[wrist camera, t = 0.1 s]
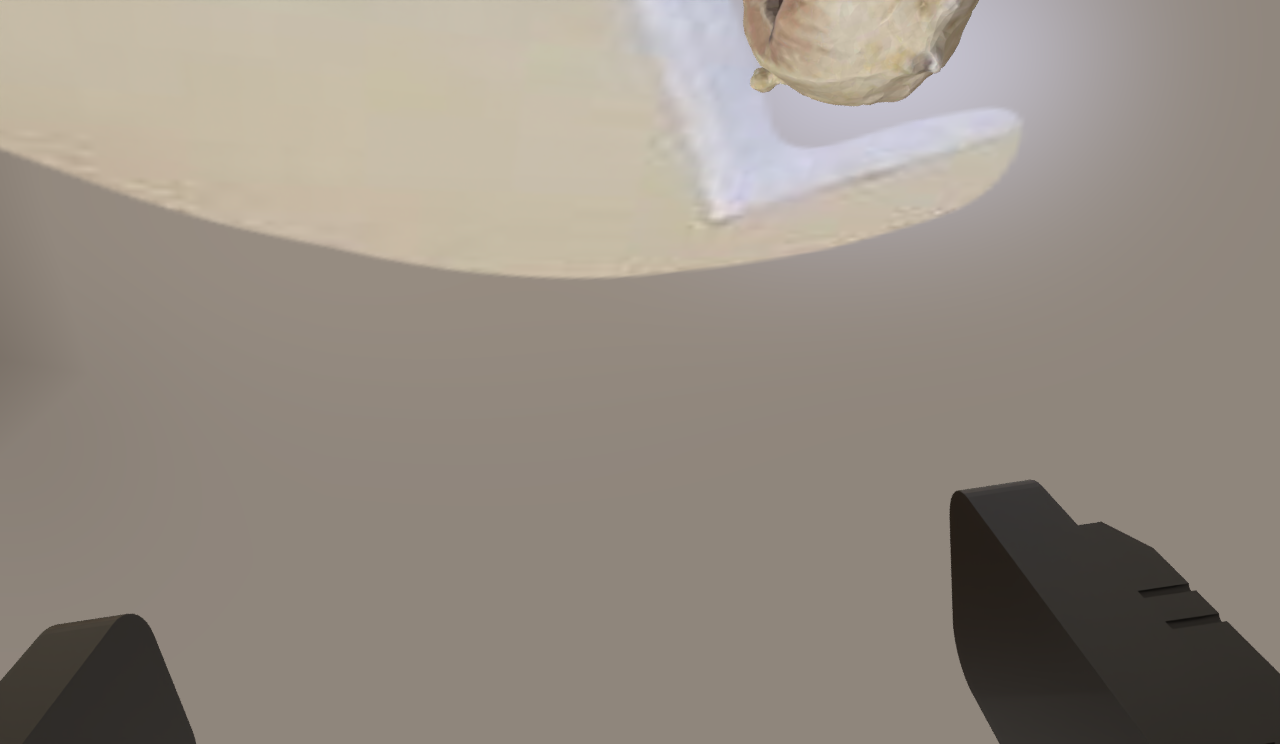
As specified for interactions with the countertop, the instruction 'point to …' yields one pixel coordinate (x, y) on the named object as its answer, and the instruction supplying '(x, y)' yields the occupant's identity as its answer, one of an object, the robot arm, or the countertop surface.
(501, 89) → the countertop surface
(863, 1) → the garlic bulb
